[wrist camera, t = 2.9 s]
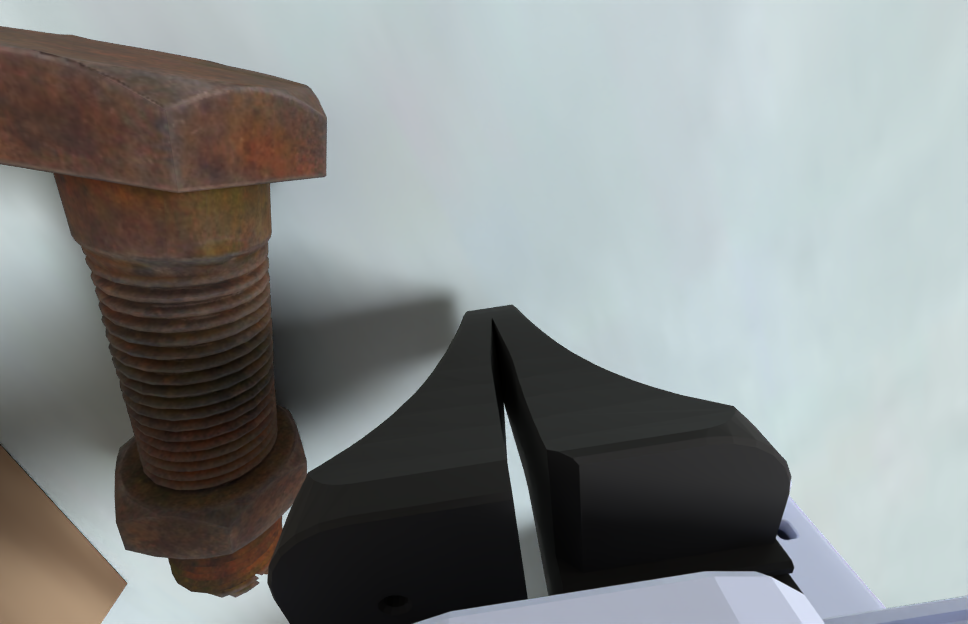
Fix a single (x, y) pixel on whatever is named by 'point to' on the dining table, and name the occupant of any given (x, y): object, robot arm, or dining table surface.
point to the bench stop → (47, 559)
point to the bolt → (177, 277)
